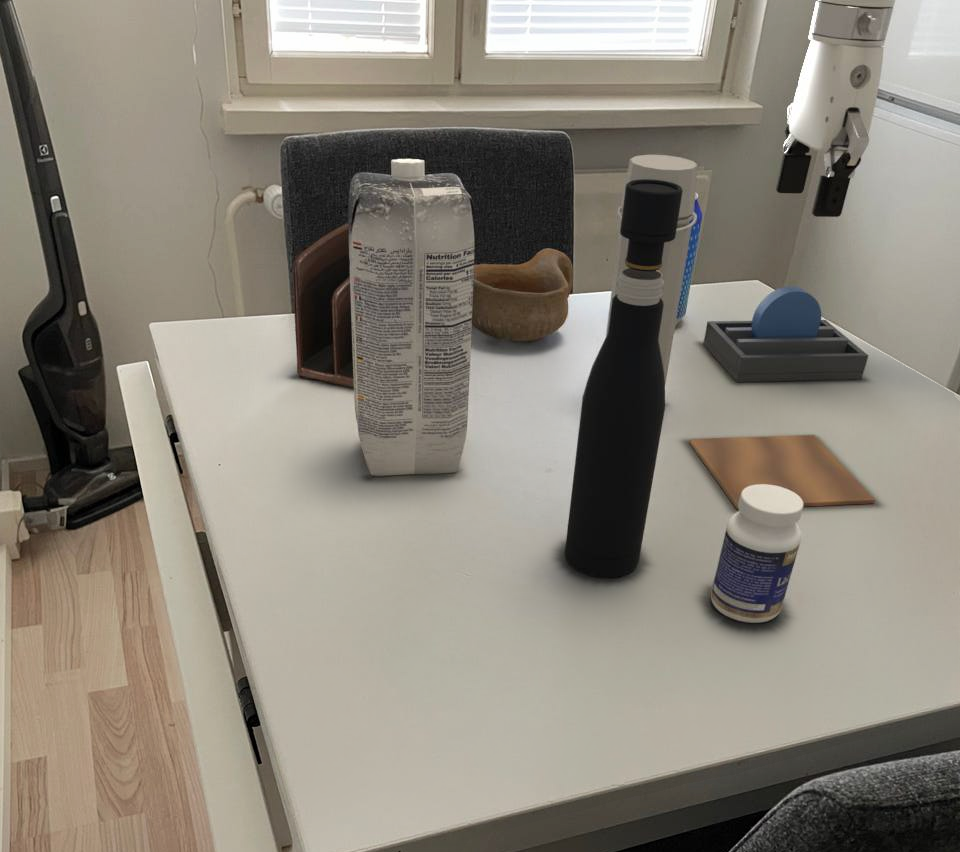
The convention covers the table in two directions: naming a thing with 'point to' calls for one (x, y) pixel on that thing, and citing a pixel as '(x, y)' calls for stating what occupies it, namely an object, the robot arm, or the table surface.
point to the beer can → (689, 262)
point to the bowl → (522, 297)
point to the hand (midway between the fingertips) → (806, 203)
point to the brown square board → (781, 468)
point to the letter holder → (324, 310)
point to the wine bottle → (624, 397)
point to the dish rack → (784, 354)
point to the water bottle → (673, 251)
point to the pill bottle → (758, 554)
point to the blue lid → (787, 315)
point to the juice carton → (411, 317)
